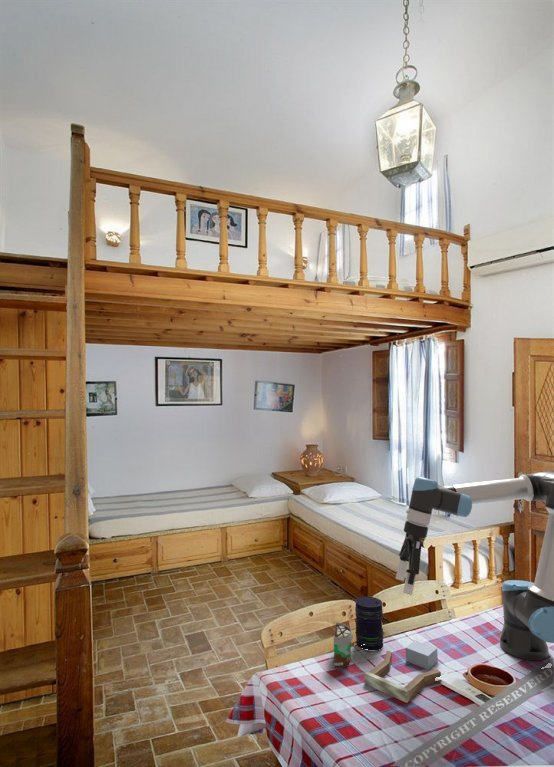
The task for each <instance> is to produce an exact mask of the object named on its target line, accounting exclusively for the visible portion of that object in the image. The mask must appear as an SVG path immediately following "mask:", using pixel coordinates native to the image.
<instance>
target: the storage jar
mask: <svg viewBox="0 0 554 767" xmlns="http://www.w3.org/2000/svg"><path fill="white" fill-rule="evenodd" d="M383 612H384V611H383V601H382V600H381V599H380V598H378V597H375V596H374V597H373V596H360V597H356V598H355V613H354V614H355V618H356V626H355V637H356V638H355V640H356V643H355V644H356V646H357V647H358V648H359V647H360V648H359V649H361V648H363V649H368V650H378V651H380V650H382V649H383V648H384V630H383V618H384V615H383ZM363 644H365V645H363ZM361 645H362V646H361ZM382 647H383V648H382ZM381 648H382V649H381ZM363 649H362V650H363ZM379 649H380V650H379Z"/></svg>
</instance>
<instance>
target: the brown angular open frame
mask: <svg viewBox="0 0 554 767" xmlns="http://www.w3.org/2000/svg"><path fill="white" fill-rule="evenodd" d="M392 658H393V657H392V651H391V650H390V651H389V650H386V653H385V656H384V660H383V661H381V662H380V663H378V664H377V665H376V666H374V667H373V668H372V669H370V670H369V671H367V670H366V671H365V672H364V673H363V674H364V684H365V685H367V686H369V687H371V688H373V689H376V690H378V691H380V692H382V693H384V694H386V695H388V696H391V697H392V698H395V699H398V700H400V701H401V702H404V703H406V704H408V702H410V701H411V700H412V699H413V698H414V697H415V696H416V695H417V694H418V693H419V692H420V691H421V690H423V688H424V687H425V686H427V685H430V684H434V683H437V682H436V681H435V678H436V677H440V676H441V677H442V673H441V671H440V670H439V669H438V668H436V669H432V670H430V671H429V670H428V671H426V672H422V673H419V674H417V675H416V676H415V677H413V679H412V680H410V681H409V682H408V683H407V684H406V685H405V686H402V685H399V684H397V683H395V682H393V681H390V680H388V679H386V678H383V677H384V676H385V675H386V674H387V673H389V672H390V670H391V664H392V660H393V659H392Z"/></svg>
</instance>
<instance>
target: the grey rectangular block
mask: <svg viewBox="0 0 554 767" xmlns="http://www.w3.org/2000/svg"><path fill="white" fill-rule="evenodd" d="M438 661H439V658H438V647H435V646H432V645H430V644H427V643H425V642H420V641H418V640H414V641H412V642H411V643H409V644H408V645H407V646H405V662H408V663H410V664H413V665H415V666H418V667H420V668H423V669H425V670H427V671H429V670H430V669H431V668H433V666H435V665H436V664H437V663H439V662H438Z"/></svg>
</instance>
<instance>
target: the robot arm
mask: <svg viewBox="0 0 554 767" xmlns="http://www.w3.org/2000/svg"><path fill="white" fill-rule="evenodd" d="M516 500H517V501H518V500H525V501H526V502H545V506H544V508H545V511H547V513H548V517H547V521H546V527H545V532H544V536H543V539H542V540H543V541H542V546H541V550H540V554H539V558H538V564H537V568H536V573H535V578H534V582H532V581H526V580H518V579H517V580H516V579H511V580H508V579H507V580H505V581H503V582H502V586H501V593H502V595H501V597H502V609H503V610H502V611H503V625H502V629H501V632H500V636H499V646H500V648H501V650H503V651H504V652H505V653H506V654H509V655H512V656H513V657H516V658H519V659H523V660H527V661H544V660H547V658H549V656H550V654H549V653H550V652H549V646H548V644H549V643H550V644H554V470H545V471H540V472H539V471H538V472H533V473H525V474H520V475H519V477H516V478H505V479H497V480H496V479H495V480H486V481H476V482H469V483H460V484H452V485H451V484H450V485H449V484H447V485H439V482H438V481H436V480H433V479H430V478H426V477H422V476H417V477H415V479H414V482H413V485H412V490H411V495H410V500H409V504H408V509H407V510H405V513H406V514H407V515H406V521H405V522H404V528H403V531H404V533H405V538H404V540H403V543H402V545H401V549H400V551H399V553H398V555H399V561H398V567H397V571H396V576H395V579H396V580H397V581H398V580H399V581H402V582H404V581H405V582H404V586H403V589H402V593H403V594H406V595H409V596H413V591H414V587H415V582H416V577H417V575H419V574H420V564H421V553H422V552H421V551H422V548H423V547H422V546H423V543H422V542H420V539H426V538H427V536H428V531H429V526H430V522H431V518H432V513H433V510H435V511H439V512H443V513H447V514H450V515H454V516H456V517H462V518H467V517H468V516H469V515H470V514H471V512H472V510H473V505H476V504H486V503H487V504H488V503H495V502H496V503H497V502H506V501H508V502H509V501H516ZM547 643H548V644H547Z"/></svg>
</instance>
